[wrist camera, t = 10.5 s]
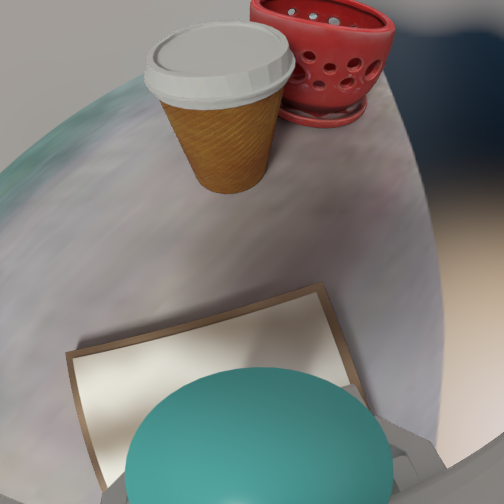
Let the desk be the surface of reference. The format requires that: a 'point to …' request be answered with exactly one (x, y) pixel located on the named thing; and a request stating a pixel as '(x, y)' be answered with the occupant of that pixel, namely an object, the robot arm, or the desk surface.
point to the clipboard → (199, 365)
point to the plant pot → (328, 57)
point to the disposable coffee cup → (222, 96)
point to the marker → (259, 444)
